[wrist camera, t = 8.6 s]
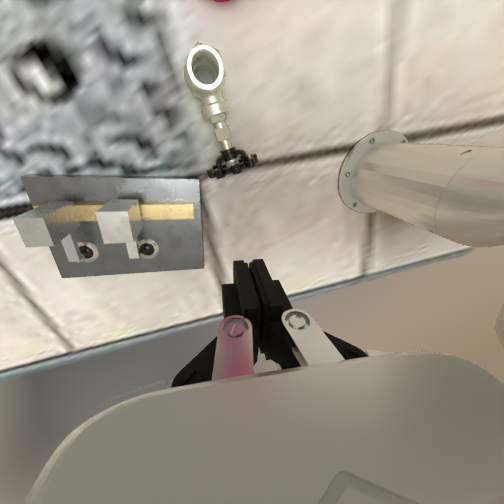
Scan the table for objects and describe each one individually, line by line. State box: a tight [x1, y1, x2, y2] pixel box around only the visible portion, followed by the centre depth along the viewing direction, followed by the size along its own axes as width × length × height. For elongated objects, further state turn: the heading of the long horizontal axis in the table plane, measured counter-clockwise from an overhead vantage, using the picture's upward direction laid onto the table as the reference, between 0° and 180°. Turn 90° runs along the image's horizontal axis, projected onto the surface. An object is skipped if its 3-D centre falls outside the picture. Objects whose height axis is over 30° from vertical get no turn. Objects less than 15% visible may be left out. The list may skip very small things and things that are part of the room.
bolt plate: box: [13, 175, 204, 278], centre depth 28 cm, size 20×14×9 cm
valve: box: [184, 42, 258, 179], centre depth 26 cm, size 7×7×12 cm
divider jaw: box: [95, 199, 143, 259], centre depth 28 cm, size 3×8×6 cm, turn 177°
